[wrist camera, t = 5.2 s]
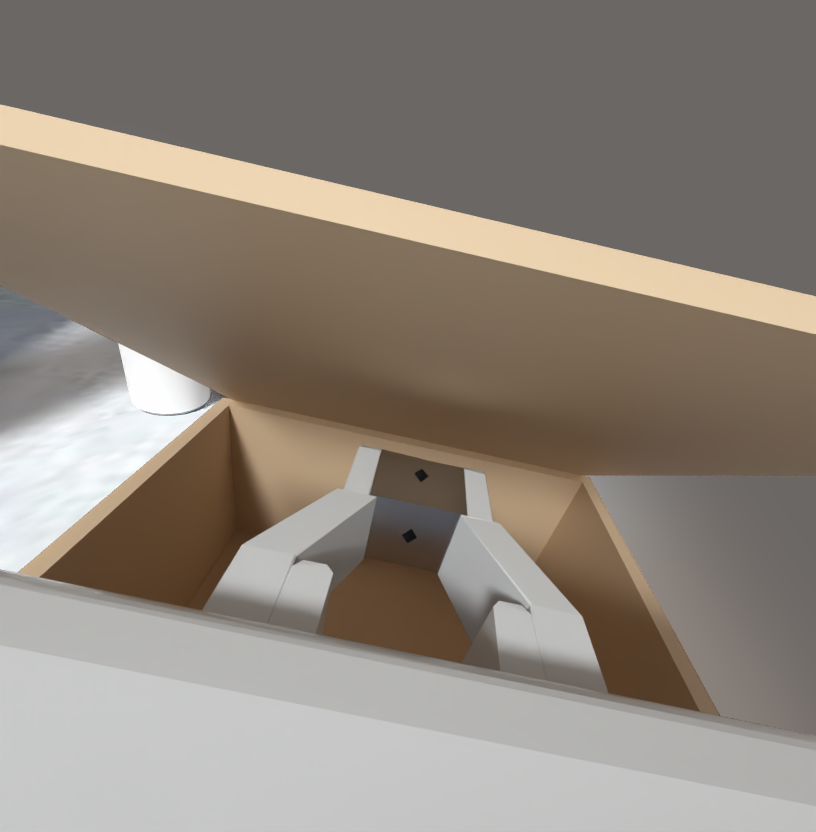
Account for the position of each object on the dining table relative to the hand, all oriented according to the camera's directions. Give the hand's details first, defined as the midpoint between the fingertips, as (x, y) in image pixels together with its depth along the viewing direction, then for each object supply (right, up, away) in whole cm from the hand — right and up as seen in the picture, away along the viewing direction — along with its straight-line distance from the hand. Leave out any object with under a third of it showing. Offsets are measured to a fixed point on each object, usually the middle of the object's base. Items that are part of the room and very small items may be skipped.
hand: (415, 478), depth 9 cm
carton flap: (0, +2, +3) cm, 3 cm away
